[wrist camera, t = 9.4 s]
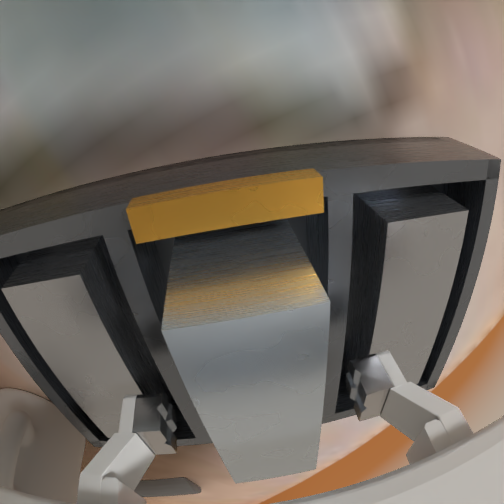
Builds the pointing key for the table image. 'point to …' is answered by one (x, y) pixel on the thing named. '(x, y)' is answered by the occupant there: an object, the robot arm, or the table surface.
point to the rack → (236, 214)
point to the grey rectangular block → (251, 344)
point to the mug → (38, 447)
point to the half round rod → (166, 487)
